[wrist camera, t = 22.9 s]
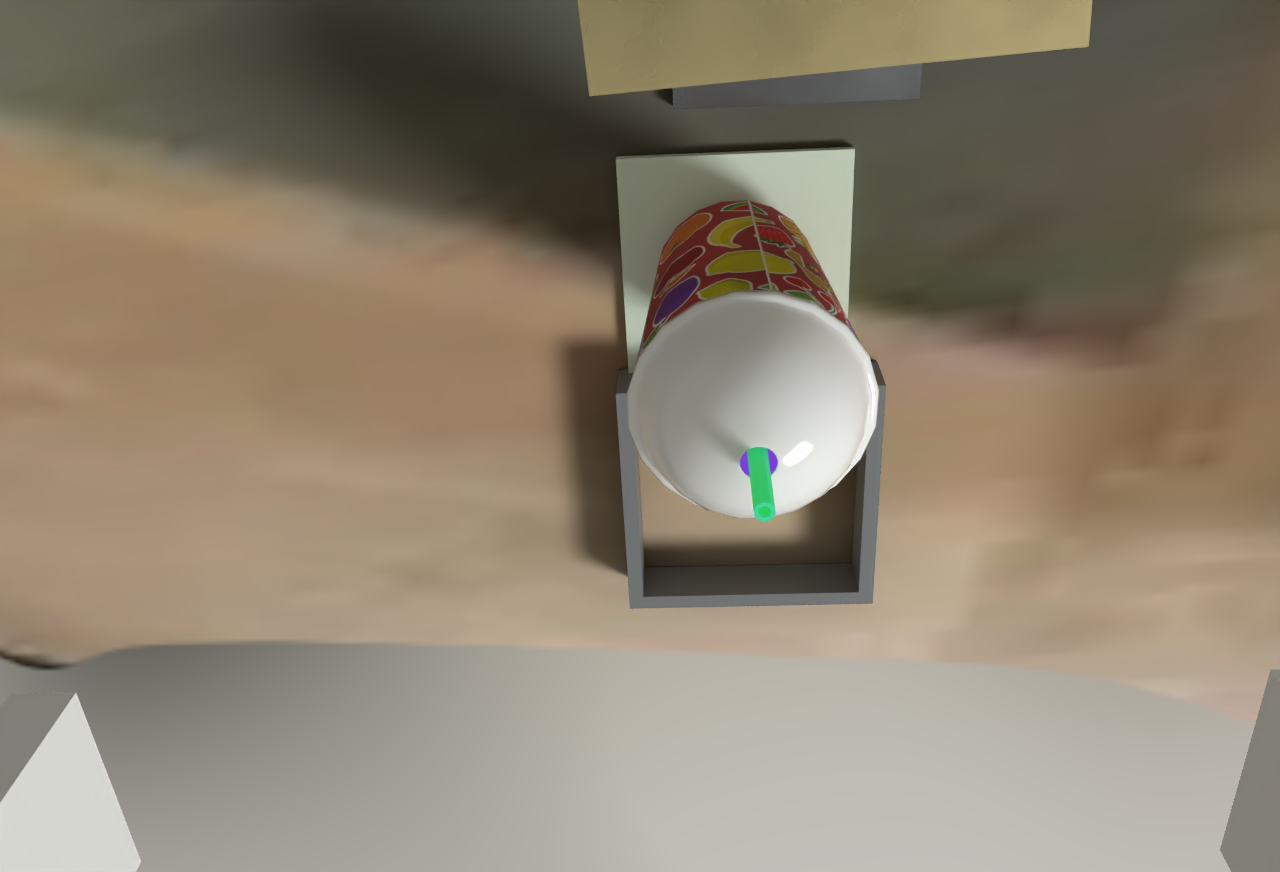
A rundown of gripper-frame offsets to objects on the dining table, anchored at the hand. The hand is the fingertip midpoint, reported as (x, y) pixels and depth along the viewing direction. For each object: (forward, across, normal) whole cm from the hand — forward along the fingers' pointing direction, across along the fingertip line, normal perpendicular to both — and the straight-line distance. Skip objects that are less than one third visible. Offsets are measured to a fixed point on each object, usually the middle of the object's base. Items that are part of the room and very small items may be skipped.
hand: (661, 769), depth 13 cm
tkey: (+37, +5, +4) cm, 38 cm away
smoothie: (+38, +2, -8) cm, 39 cm away
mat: (+38, +2, -8) cm, 39 cm away
